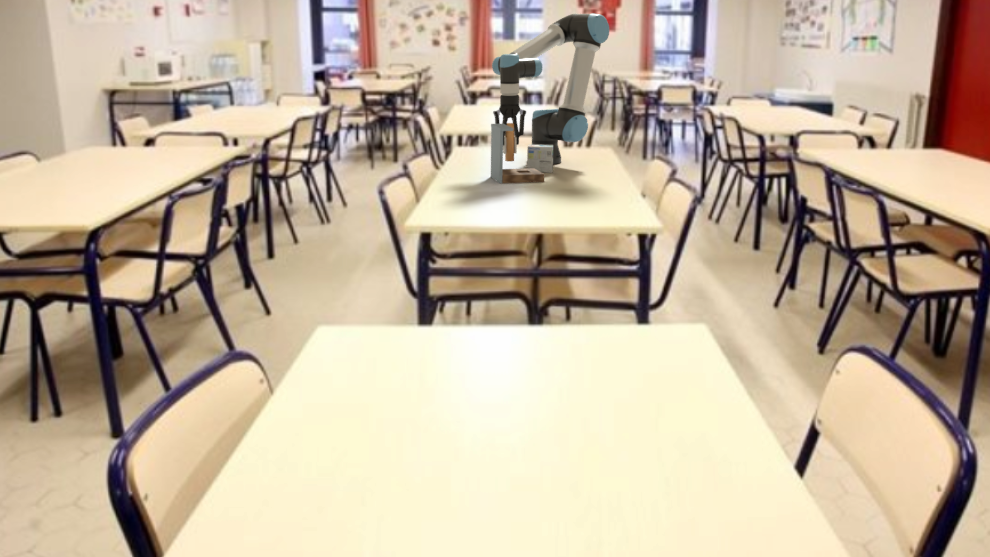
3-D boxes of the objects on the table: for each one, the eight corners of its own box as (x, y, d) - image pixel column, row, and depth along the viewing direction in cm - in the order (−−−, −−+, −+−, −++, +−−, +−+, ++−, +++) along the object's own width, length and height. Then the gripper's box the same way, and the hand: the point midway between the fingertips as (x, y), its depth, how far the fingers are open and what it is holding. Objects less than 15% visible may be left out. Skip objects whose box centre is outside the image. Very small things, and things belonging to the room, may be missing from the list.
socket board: (534, 175, 338) (534, 168, 337) (544, 181, 325) (544, 174, 324) (493, 176, 334) (493, 169, 333) (502, 183, 321) (502, 175, 320)
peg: (512, 159, 341) (512, 122, 336) (515, 161, 338) (515, 123, 333) (504, 160, 340) (504, 123, 335) (506, 161, 337) (506, 124, 332)
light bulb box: (552, 170, 351) (553, 144, 348) (552, 173, 344) (553, 146, 341) (527, 169, 352) (528, 143, 349) (526, 172, 345) (527, 146, 342)
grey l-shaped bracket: (502, 176, 335) (503, 123, 329) (512, 183, 321) (513, 128, 315) (490, 176, 334) (491, 123, 328) (499, 183, 320) (500, 128, 314)
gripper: (527, 92, 336) (526, 150, 343) (487, 94, 332) (487, 152, 339) (532, 94, 329) (532, 153, 336) (491, 95, 325) (492, 155, 332)
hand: (509, 153), depth 338 cm, fingers closed on peg, 3 cm apart
